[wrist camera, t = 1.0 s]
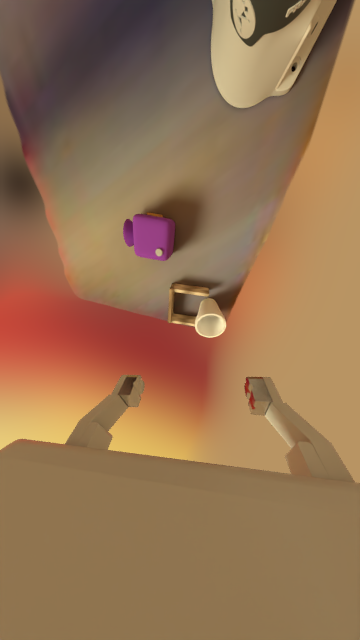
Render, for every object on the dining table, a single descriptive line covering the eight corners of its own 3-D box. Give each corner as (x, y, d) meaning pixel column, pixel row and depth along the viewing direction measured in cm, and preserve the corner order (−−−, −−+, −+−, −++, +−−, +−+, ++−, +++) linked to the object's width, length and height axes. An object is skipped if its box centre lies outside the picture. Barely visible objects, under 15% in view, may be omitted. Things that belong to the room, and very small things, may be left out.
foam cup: (202, 318, 56) (202, 340, 46) (191, 300, 52) (189, 320, 42) (224, 310, 52) (230, 331, 42) (215, 290, 48) (219, 308, 38)
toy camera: (128, 215, 39) (109, 213, 31) (175, 211, 37) (168, 208, 29) (137, 256, 45) (123, 263, 37) (177, 254, 43) (172, 262, 35)
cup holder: (208, 288, 48) (209, 294, 44) (201, 319, 56) (201, 327, 52) (172, 283, 49) (169, 289, 44) (170, 314, 57) (167, 322, 52)
